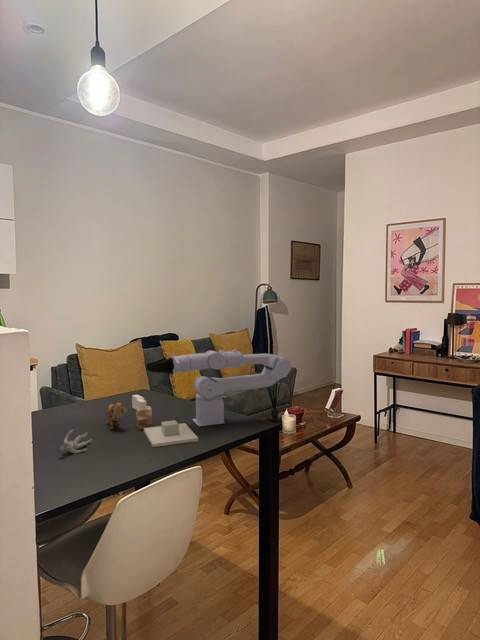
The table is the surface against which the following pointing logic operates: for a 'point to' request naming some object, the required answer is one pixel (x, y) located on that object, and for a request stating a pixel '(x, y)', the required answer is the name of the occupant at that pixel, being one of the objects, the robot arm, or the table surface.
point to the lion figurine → (115, 414)
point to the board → (170, 439)
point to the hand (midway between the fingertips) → (148, 367)
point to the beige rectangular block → (138, 401)
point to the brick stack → (143, 417)
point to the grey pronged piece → (74, 444)
